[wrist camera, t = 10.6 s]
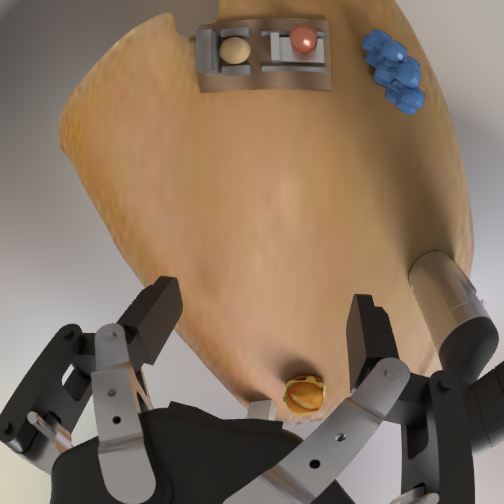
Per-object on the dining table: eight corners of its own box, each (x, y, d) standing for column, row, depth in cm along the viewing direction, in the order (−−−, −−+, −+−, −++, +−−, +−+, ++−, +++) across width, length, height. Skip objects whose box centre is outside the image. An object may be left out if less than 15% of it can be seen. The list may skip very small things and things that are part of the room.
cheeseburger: (287, 395, 65) (281, 422, 55) (284, 365, 62) (278, 392, 53) (325, 395, 62) (323, 423, 53) (326, 364, 60) (325, 392, 50)
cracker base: (327, 23, 26) (331, 8, 21) (330, 91, 32) (334, 87, 26) (202, 28, 29) (186, 17, 24) (203, 93, 35) (187, 90, 29)
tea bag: (250, 401, 70) (243, 431, 61) (271, 399, 67) (266, 430, 58) (256, 407, 71) (250, 436, 62) (277, 405, 68) (272, 435, 60)
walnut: (252, 40, 28) (246, 32, 25) (253, 65, 30) (247, 60, 27) (224, 42, 29) (215, 35, 26) (224, 67, 31) (215, 62, 28)
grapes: (420, 106, 29) (460, 108, 19) (381, 118, 32) (411, 121, 21) (387, 35, 25) (415, 10, 15) (346, 45, 28) (362, 19, 17)
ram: (322, 39, 27) (326, 21, 20) (323, 65, 28) (328, 52, 21) (273, 38, 28) (264, 20, 21) (274, 64, 30) (265, 51, 23)
